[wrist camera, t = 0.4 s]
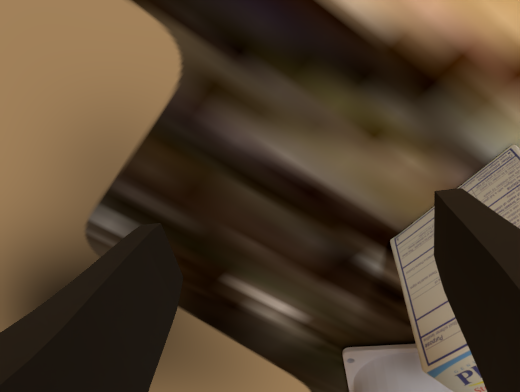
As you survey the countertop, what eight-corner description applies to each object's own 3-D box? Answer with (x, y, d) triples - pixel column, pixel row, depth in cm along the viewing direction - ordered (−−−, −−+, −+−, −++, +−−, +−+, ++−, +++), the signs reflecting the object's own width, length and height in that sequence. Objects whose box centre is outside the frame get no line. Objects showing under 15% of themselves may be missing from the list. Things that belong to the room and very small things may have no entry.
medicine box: (439, 275, 24) (494, 423, 17) (385, 237, 23) (421, 377, 16) (567, 191, 20) (709, 335, 13) (511, 139, 19) (633, 266, 12)
